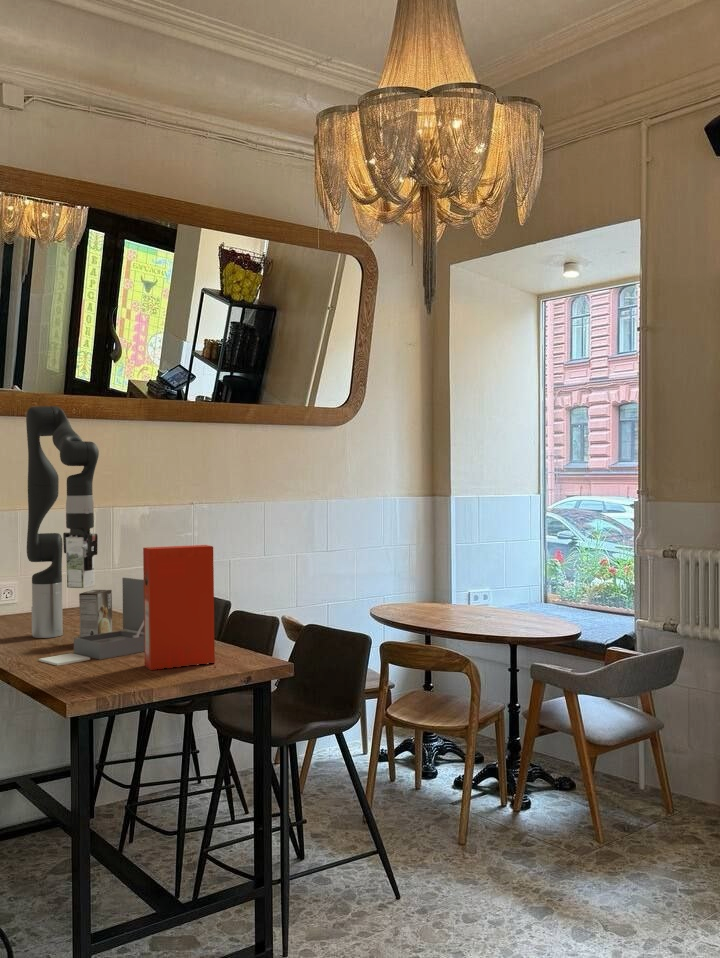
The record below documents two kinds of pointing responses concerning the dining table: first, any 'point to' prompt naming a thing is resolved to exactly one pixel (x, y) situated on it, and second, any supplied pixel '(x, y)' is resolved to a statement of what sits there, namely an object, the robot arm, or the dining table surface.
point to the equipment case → (121, 640)
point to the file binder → (178, 606)
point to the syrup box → (78, 564)
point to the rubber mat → (64, 659)
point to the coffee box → (95, 612)
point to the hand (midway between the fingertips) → (80, 569)
